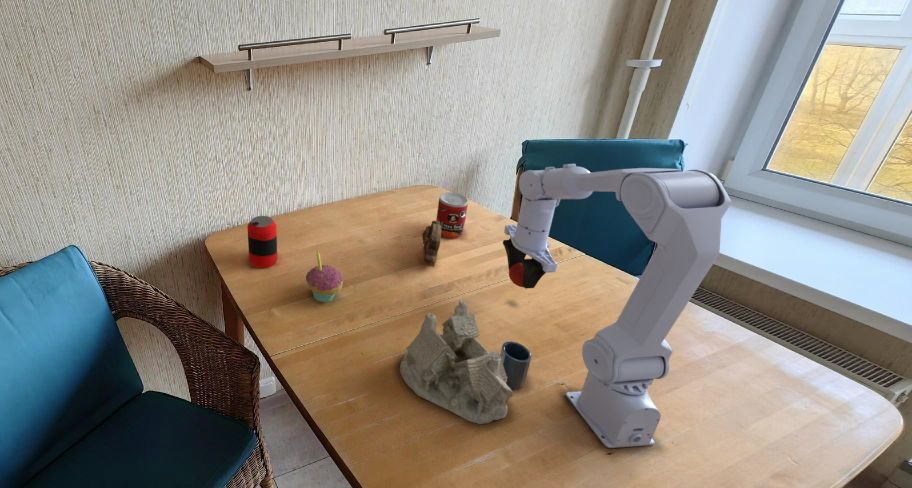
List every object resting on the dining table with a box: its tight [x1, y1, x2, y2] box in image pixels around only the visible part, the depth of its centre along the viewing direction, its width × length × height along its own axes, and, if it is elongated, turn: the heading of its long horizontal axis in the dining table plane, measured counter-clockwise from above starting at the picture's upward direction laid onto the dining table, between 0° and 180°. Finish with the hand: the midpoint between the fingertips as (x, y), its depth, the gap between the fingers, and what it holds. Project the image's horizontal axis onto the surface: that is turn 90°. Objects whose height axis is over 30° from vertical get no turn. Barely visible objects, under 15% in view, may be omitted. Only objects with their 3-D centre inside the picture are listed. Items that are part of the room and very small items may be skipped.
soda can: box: [246, 215, 278, 269], centre depth 112 cm, size 8×8×12 cm
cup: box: [499, 340, 532, 390], centre depth 78 cm, size 5×5×6 cm
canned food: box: [435, 192, 469, 239], centre depth 123 cm, size 8×8×11 cm
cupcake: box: [305, 250, 344, 303], centre depth 99 cm, size 9×8×12 cm
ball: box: [508, 263, 524, 288], centre depth 92 cm, size 5×5×5 cm
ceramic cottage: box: [399, 300, 514, 425], centre depth 75 cm, size 16×16×15 cm
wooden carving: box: [421, 220, 442, 268], centre depth 112 cm, size 16×5×10 cm, turn 165°
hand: (521, 279), depth 92 cm, fingers closed on ball, 5 cm apart
